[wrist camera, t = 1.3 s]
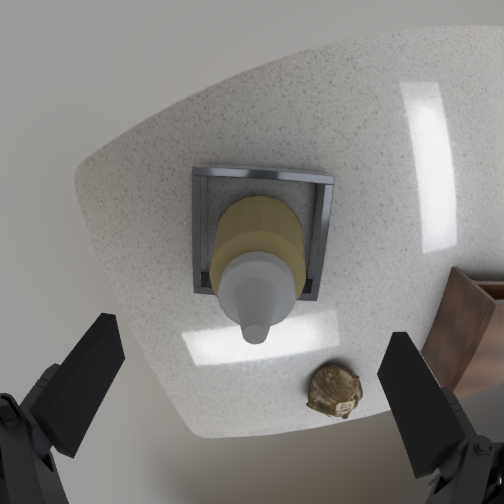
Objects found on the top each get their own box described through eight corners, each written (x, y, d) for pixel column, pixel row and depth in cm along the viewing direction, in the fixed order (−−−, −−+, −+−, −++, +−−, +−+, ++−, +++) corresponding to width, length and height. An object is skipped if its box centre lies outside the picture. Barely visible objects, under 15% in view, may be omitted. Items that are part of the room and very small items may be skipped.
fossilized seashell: (349, 418, 38) (376, 366, 36) (337, 442, 32) (369, 388, 30) (307, 399, 42) (329, 347, 40) (290, 420, 36) (315, 365, 34)
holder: (200, 164, 28) (192, 167, 25) (326, 172, 28) (334, 176, 25) (200, 278, 33) (193, 293, 30) (312, 285, 33) (316, 301, 30)
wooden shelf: (452, 266, 31) (496, 305, 22) (518, 270, 31) (557, 300, 22) (420, 353, 36) (447, 400, 27) (488, 344, 36) (517, 380, 27)
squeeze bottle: (222, 186, 29) (166, 250, 12) (302, 191, 29) (353, 262, 12) (220, 261, 32) (179, 383, 15) (294, 266, 32) (321, 391, 15)
